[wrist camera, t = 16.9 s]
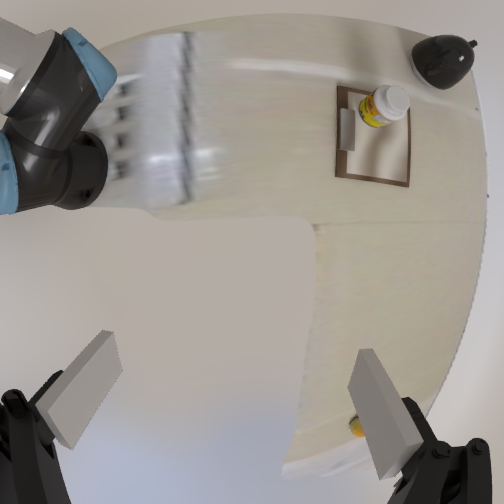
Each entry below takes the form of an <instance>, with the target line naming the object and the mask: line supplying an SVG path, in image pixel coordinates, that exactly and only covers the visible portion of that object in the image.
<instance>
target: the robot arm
mask: <svg viewBox="0 0 504 504" xmlns="http://www.w3.org/2000/svg"><path fill="white" fill-rule="evenodd" d="M116 79H117V71H116V69H115V68H114V66H113V65H112V64H111V63H110V62H109V61H108V60H107V59H106V58H105V57H104V56H103V55H102V54H101V53H100V52H99V51H98V50H97V49H96V48H95V47H94V46H93V45H92V44H91V43H89V42H88V41H87V40H86V39H85V38H84V37H83V36H82V35H81V34H80V33H78V32H77V31H76V30H75V29H73V28H68V29H67V30H65V31H63V33H62V35H60V34H59V33H57V32H55V31H54V30H48V31H45V32H42V33H40V34H37V35H35V34H33V33H31V32H29V31H27V30H25V29H23V28H21V27H19V26H17V25H15V24H13V23H11V22H9V21H7V20H5V19H3V18H1V17H0V113H1V114H3V115H6V116H8V118H7V120H6V122H5V124H4V126H3V128H2V130H0V215H2V214H14V213H16V212H20V211H25V210H28V209H33V208H37V207H42V206H46V205H54V206H57V207H61V208H63V209H67V210H75V209H80V208H84V207H86V206H88V205H90V204H91V203H92V202H93V201H94V200H95V199H96V198H97V197H98V196H99V194H100V192H101V191H102V189H103V186H104V184H105V181H106V177H107V170H108V160H107V154H106V150H105V147H104V145H103V143H102V142H101V140H100V139H99V138H98V137H97V136H95V135H94V134H92V133H89V132H84V131H80V130H81V128H82V127H83V125H84V124H85V122H86V121H87V120H88V118H89V117H90V115H91V114H92V113H93V111H94V110H95V109H96V107H97V106H98V105H99V103H102V102H103V100H104V97H105V95H106V94H107V93H108V91H109V90H110V89H111V87H112V86H113V85H114V83H115V82H116ZM122 371H123V369H122V366H121V362H120V358H119V354H118V350H117V346H116V341H115V337H114V332H110V331H105V330H102V331H101V332H100V333H99V334H98V335H97V336H96V337H95V338H94V339H93V340H92V341H91V342H90V344H89V345H88V346H87V347H86V348H85V349H84V350H83V351H82V352H81V353H80V355H78V356H77V357H76V359H75V360H74V361H73V362H72V363H71V364H70V365H69V366H68V367H67V369H66V370H65V371H62V370H60V371H58V372H56V373H54V374H53V375H52V376H51V377H50V378H49V379H48V381H47V382H45V384H44V385H43V387H41V388H40V389H39V391H37V392H36V394H35V395H34V396H33V397H32V398H31V399H30V401H29V402H27V400H26V398H25V396H24V394H23V393H22V392H21V391H19V390H17V389H11V390H8V391H7V392H5V393H4V394H3V396H2V398H1V401H2V402H3V404H4V405H2V404H1V403H0V504H71V502H70V499H69V496H68V493H67V490H66V487H65V483H64V480H63V477H62V473H61V470H60V466H59V462H58V458H57V453H56V449H55V445H54V443H53V439H54V438H56V439H57V440H58V442H59V443H60V444H61V445H63V446H65V447H67V448H69V449H71V450H73V449H74V447H75V445H76V444H77V442H78V440H79V439H80V437H81V435H82V434H83V432H84V431H85V429H86V427H87V426H88V424H89V422H90V421H91V419H92V417H93V416H94V414H95V413H96V411H97V409H98V408H99V406H100V405H101V403H102V402H103V400H104V399H105V397H106V395H107V394H108V392H109V391H110V389H111V388H112V386H113V385H114V383H115V382H116V380H117V379H118V377H119V376H120V374H121V373H122ZM348 390H349V392H350V395H351V398H352V400H353V403H354V406H355V409H356V412H357V414H358V417H359V420H360V423H361V426H362V429H363V431H364V434H365V437H366V440H367V443H368V446H369V449H370V452H371V455H372V458H373V461H374V464H375V467H376V471H377V474H378V477H379V480H384V479H388V478H391V477H395V476H396V475H397V474H398V473H399V472H400V470H401V471H402V474H403V476H402V477H401V479H399V480H398V482H397V483H396V484H395V485H394V487H396V486H397V487H396V489H395V490H394V492H393V494H392V496H391V498H390V500H389V501H388V503H387V504H492V473H491V460H490V451H489V446H488V444H487V442H486V441H485V440H483V439H481V438H473V439H472V440H470V441H469V442H468V444H467V445H466V446H459V447H451V446H450V445H449V444H448V443H446V442H444V441H438V440H437V438H436V437H435V435H434V433H433V431H432V429H431V427H430V426H429V424H428V422H427V421H426V419H425V418H424V415H423V413H422V412H421V410H420V408H419V407H418V405H417V403H416V402H415V401H413V400H412V399H411V398H410V397H406V398H401V397H400V396H399V394H398V392H397V390H396V388H395V387H394V385H393V383H392V381H391V380H390V378H389V376H388V374H387V373H386V371H385V369H384V367H383V366H382V364H381V362H380V361H379V359H378V357H377V355H376V354H375V352H374V350H373V349H359V353H358V356H357V360H356V363H355V366H354V369H353V373H352V376H351V379H350V382H349V385H348Z"/></svg>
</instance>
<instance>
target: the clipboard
mask: <svg viewBox="0 0 504 504" xmlns="http://www.w3.org/2000/svg"><path fill="white" fill-rule="evenodd" d="M371 93H372V92H367V91H363V90H358V89H353V88H348V87H343V86H337V153H336V174H335V177H341V178H349V179H357V180H365V181H371V182H378V183H385V184H391V185H397V186H403V187H409V180H410V157H411V126H410V107H409V108H408V110H407V113H406V115H405V116H404V117H403V118H402V119H400V120H397V121H395V122H392V123H390V124H387V125H385V126H382V127H379V128H374V127H370V126H368V125H367V124H365V123H364V122H363V121H362V119H361V118H360V115H359V112H358V107H359V104H360V102H361V101H362V100H363V99H364V98H365V97H367V96H368V95H369V94H371Z"/></svg>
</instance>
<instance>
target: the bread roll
mask: <svg viewBox="0 0 504 504" xmlns="http://www.w3.org/2000/svg"><path fill="white" fill-rule="evenodd" d="M349 428H350V429H351V432H352V433H353V434H354V435H355V436H357V437H363V436H365V434H364V431H363V429H362V426H361V423H360V420H359V417H358V418H356V419H354V420H353V421H352V422H351V423H350V425H349Z"/></svg>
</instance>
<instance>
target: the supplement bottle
mask: <svg viewBox="0 0 504 504" xmlns="http://www.w3.org/2000/svg"><path fill="white" fill-rule="evenodd" d="M409 107H410V98H409V96H408V94H407V92H406V91H405V90H404V89H403V88H401V87H399V86H390V85H384V86H381V87H379V88H377V89H376V90H375V91H373V92H372V93H371V94H369V95H368V96H367V97H365V98H364V99H363V100H362V101H361V102H360V104H359V107H358V112H359V115H360V118H361V119H362V121H363V122H364V123H365V124H367V125H368V126H370V127H374V128H379V127H382V126H385V125H387V124H390V123H392V122H395V121H397V120H400V119H402V118H403V117H404V116H405V115H406V113H407V110H408V108H409Z"/></svg>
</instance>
